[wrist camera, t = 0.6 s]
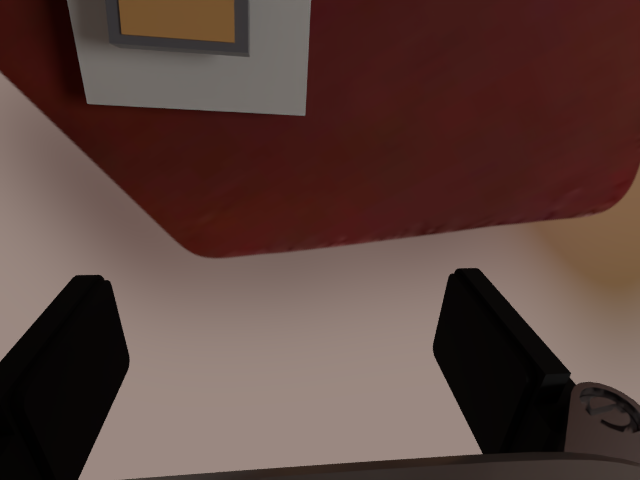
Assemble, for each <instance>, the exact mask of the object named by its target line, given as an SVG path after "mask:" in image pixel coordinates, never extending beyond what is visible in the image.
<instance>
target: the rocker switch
mask: <svg viewBox="0 0 640 480" xmlns="http://www.w3.org/2000/svg"><path fill="white" fill-rule="evenodd" d="M105 4H106V14H107V24H108V34H109V43H110V44H112V45H114V46H116V47H119V48H128V49H142V50H156V51H170V52H184V53H198V54H212V55H226V56H240V57H250V0H105Z"/></svg>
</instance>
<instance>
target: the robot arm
mask: <svg viewBox="0 0 640 480" xmlns="http://www.w3.org/2000/svg"><path fill="white" fill-rule="evenodd" d="M433 353H434V356H435V358H436V361H437V362H438V364H439V366H440V369H441V371H442V372H443V375H444V377H445V379H446V381H447V383H448V385H449V387H450V389H451V391H452V392H453V395H454V397H455V398H456V401H457V402H458V405H459V407H460V409H461V411H462V413H463V415H464V417H465V419H466V421H467V423H468V425H469V427H470V429H471V431H472V433H473V435H474V437H475V439H476V441H477V443H478V445H479V447H480V449H481V451H482V453H483V454H481V455H462V456H446V457H431V458H416V459H401V460H385V461H371V462H355V463H342V464H327V465H313V466H300V467H285V468H271V469H257V470H243V471H231V472H216V473H204V474H191V475H178V476H165V477H152V478H139V479H126V480H640V405H638V404H637V403H636V402H635V401H634V400H633V399H631V398H630V397H628V396H627V395H625V394H624V393H622V392H620V391H618V390H616V389H614V388H612V387H609V386H606V385H603V384H600V383H593V382H584V383H579V384H577V385H576V384H575V383H574V382H573V381H572V380H571V379H570V374H571V373H570V372H569V370H568V369H567V368H566V367H565V366H564V365H563V364H562V362H561V361H560V360H559V359H558V358H557V357H556V356H555V354H554V353H553V352H552V351H551V350H550V349H549V348H548V347H547V345H546V344H545V343H544V342H543V341H542V340H541V339H540V337H539V336H538V335H537V334H536V333H535V332H534V331H533V330H532V328H531V327H530V326H529V325H528V324H527V323H526V322H525V321H524V320H523V318H522V317H521V316H520V315H519V314H518V313H517V311H516V310H515V309H514V308H513V307H512V306H511V305H510V303H509V302H508V301H507V300H506V299H505V298H504V297H503V296H502V295H501V293H500V292H499V291H498V290H497V289H496V288H495V286H494V285H492V283H491V282H490V281H489V280H488V279H487V278H486V276H485V275H484V274H483V273H482V272H481V271H480V270H479V269H477V268H468V269H467V268H461V269H457V270H456V271H455V273H454V274H450V276H449V278H448V282H447V286H446V290H445V295H444V299H443V303H442V308H441V312H440V317H439V321H438V325H437V330H436V334H435V339H434V343H433ZM128 368H129V353H128V349H127V345H126V341H125V337H124V333H123V329H122V325H121V321H120V317H119V313H118V309H117V305H116V301H115V297H114V293H113V289H112V285H111V283H110V281H108V280H104V278H103V277H102V276H101V275H77V276H75V277H73V278H72V279H71V281H70V282H69V283H68V284H67V285H66V286H65V288H64V289H63V290H62V291H61V292H60V293H59V294H58V296H57V297H56V298H55V299H54V300H53V302H52V303H51V304H50V305H49V306H48V307H47V308H46V309H45V311H44V312H43V313H42V314H41V315H40V316H39V318H38V319H37V320H36V321H35V322H34V323H33V325H32V326H31V327H30V328H29V329H28V330H27V331H26V333H25V334H24V335H23V336H22V337H21V338H20V340H19V341H18V342H17V343H16V344H15V345H14V346H13V348H12V349H11V350H10V351H9V352H8V353H7V355H6V356H5V357H4V358H3V359H2V360H1V362H0V480H78V478H79V476H80V474H81V472H82V470H83V467H84V465H85V463H86V461H87V458H88V456H89V454H90V452H91V449H92V448H93V445H94V443H95V441H96V439H97V437H98V434H99V432H100V430H101V428H102V426H103V423H104V421H105V419H106V417H107V415H108V412H109V410H110V408H111V406H112V403H113V401H114V399H115V397H116V395H117V393H118V390H119V388H120V386H121V384H122V382H123V380H124V377H125V375H126V373H127V371H128Z"/></svg>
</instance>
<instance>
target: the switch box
mask: <svg viewBox="0 0 640 480" xmlns="http://www.w3.org/2000/svg"><path fill="white" fill-rule="evenodd" d="M67 3H68V8H69V13H70V19H71V24H72V29H73V34H74V39H75V44H76V49H77V54H78V59H79V64H80V69H81V75H82V80H83V85H84V90H85V95H86V100H87V104H98V105H117V106H135V107H154V108H172V109H191V110H209V111H227V112H246V113H264V114H283V115H301V116H305V109H306V88H307V68H308V47H309V27H310V6H311V0H250V57H240V56H226V55H212V54H198V53H184V52H170V51H156V50H142V49H128V48H119V47H116V46H114V45H112V44H110V43H109V34H108V24H107V14H106V4H105V0H67Z"/></svg>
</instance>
